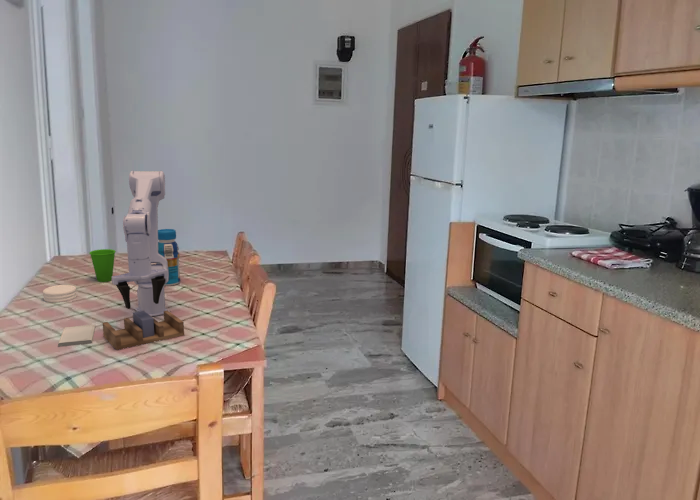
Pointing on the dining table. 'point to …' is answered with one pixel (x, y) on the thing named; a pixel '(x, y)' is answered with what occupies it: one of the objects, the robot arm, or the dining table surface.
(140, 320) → the tall slate-grey prism
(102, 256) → the cup
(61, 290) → the coaster
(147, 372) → the dining table surface
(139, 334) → the rack
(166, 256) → the beverage bottle
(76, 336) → the hard drive
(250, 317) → the dining table surface
